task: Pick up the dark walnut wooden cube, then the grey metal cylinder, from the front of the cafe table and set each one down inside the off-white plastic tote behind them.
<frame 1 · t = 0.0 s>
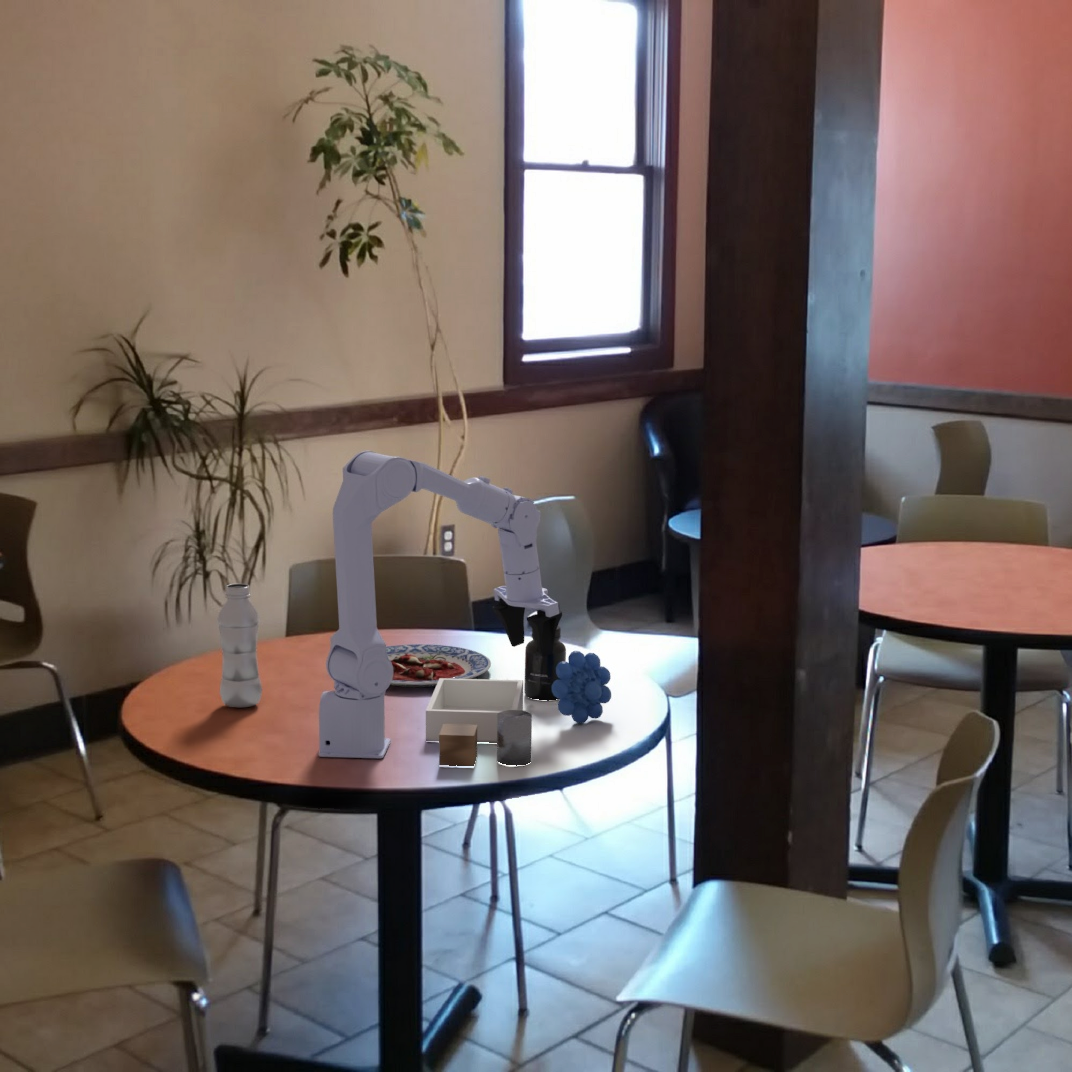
hand: (532, 649, 226), 11 cm above the table, tool pointing down, fingers open, 7 cm apart
ceramic plate: (418, 675, 250), on the table
grey metal cylinder: (514, 761, 205), on the table
tote: (476, 725, 221), on the table
plastic bottle: (241, 707, 230), on the table
supplement bottle: (544, 697, 237), on the table
walnut cube: (458, 762, 204), on the table
blue knobbed flower shape: (584, 726, 222), on the table
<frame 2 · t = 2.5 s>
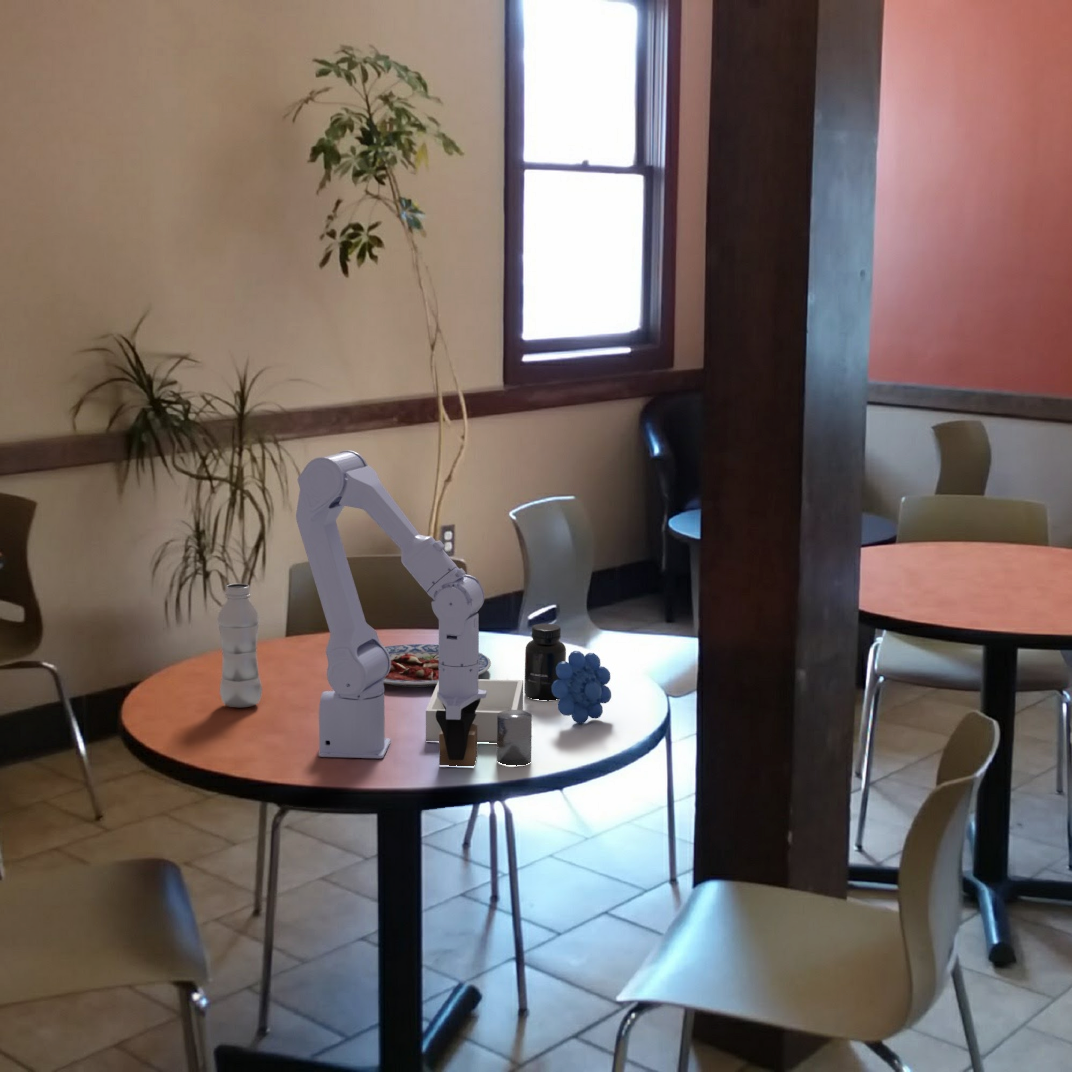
hand: (458, 752, 204), 1 cm above the table, tool pointing down, fingers closed on walnut cube, 5 cm apart
walnut cube: (458, 762, 204), on the table, touching gripper
everything else where it was.
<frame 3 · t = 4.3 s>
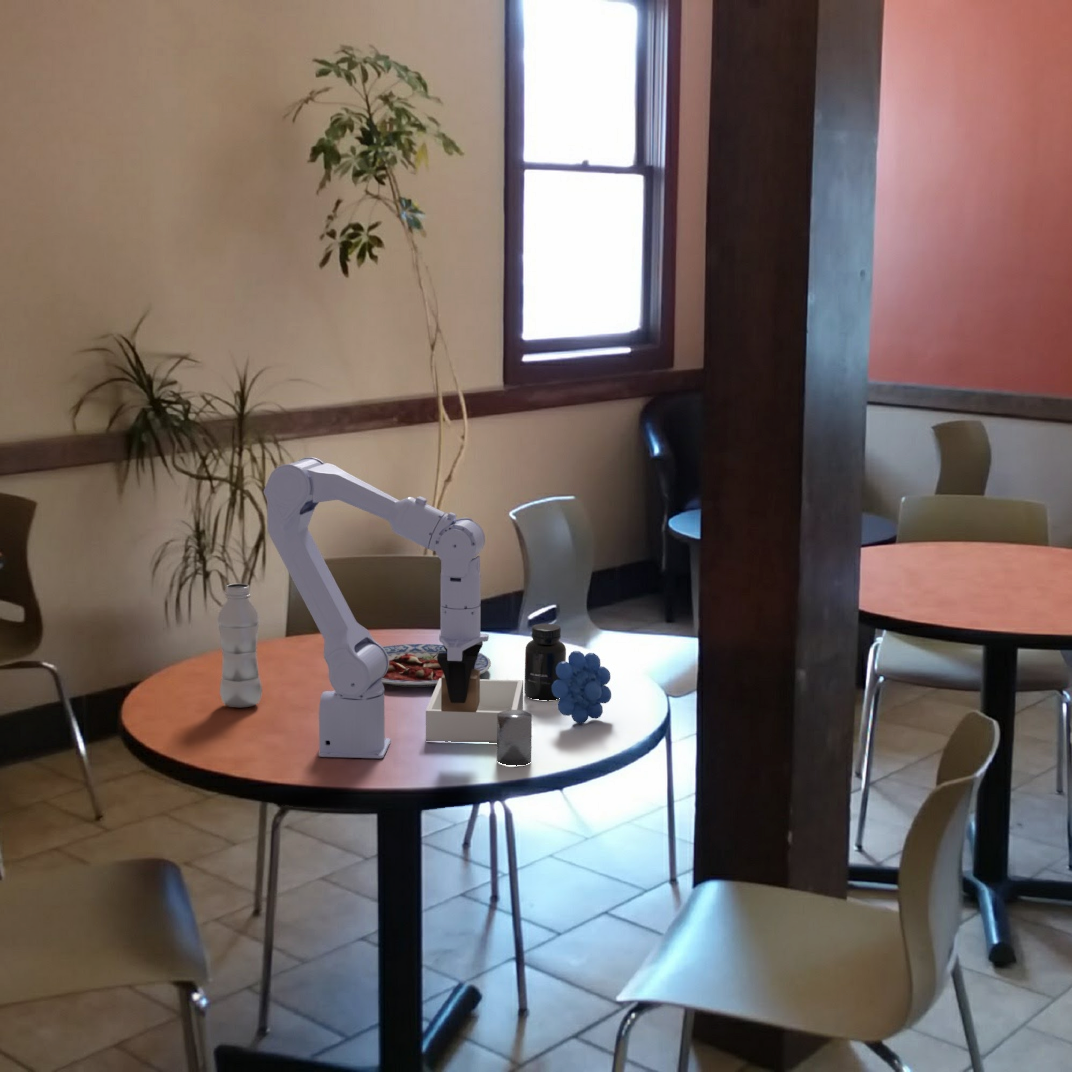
hand: (460, 696, 204), 9 cm above the table, tool pointing down, fingers closed on walnut cube, 5 cm apart
walnut cube: (460, 706, 204), point 8 cm above the table, touching gripper
everything else where it was.
when the fingers open (5 cm above the table, at t = 6.3 s): walnut cube drops 3 cm, resting on tote.
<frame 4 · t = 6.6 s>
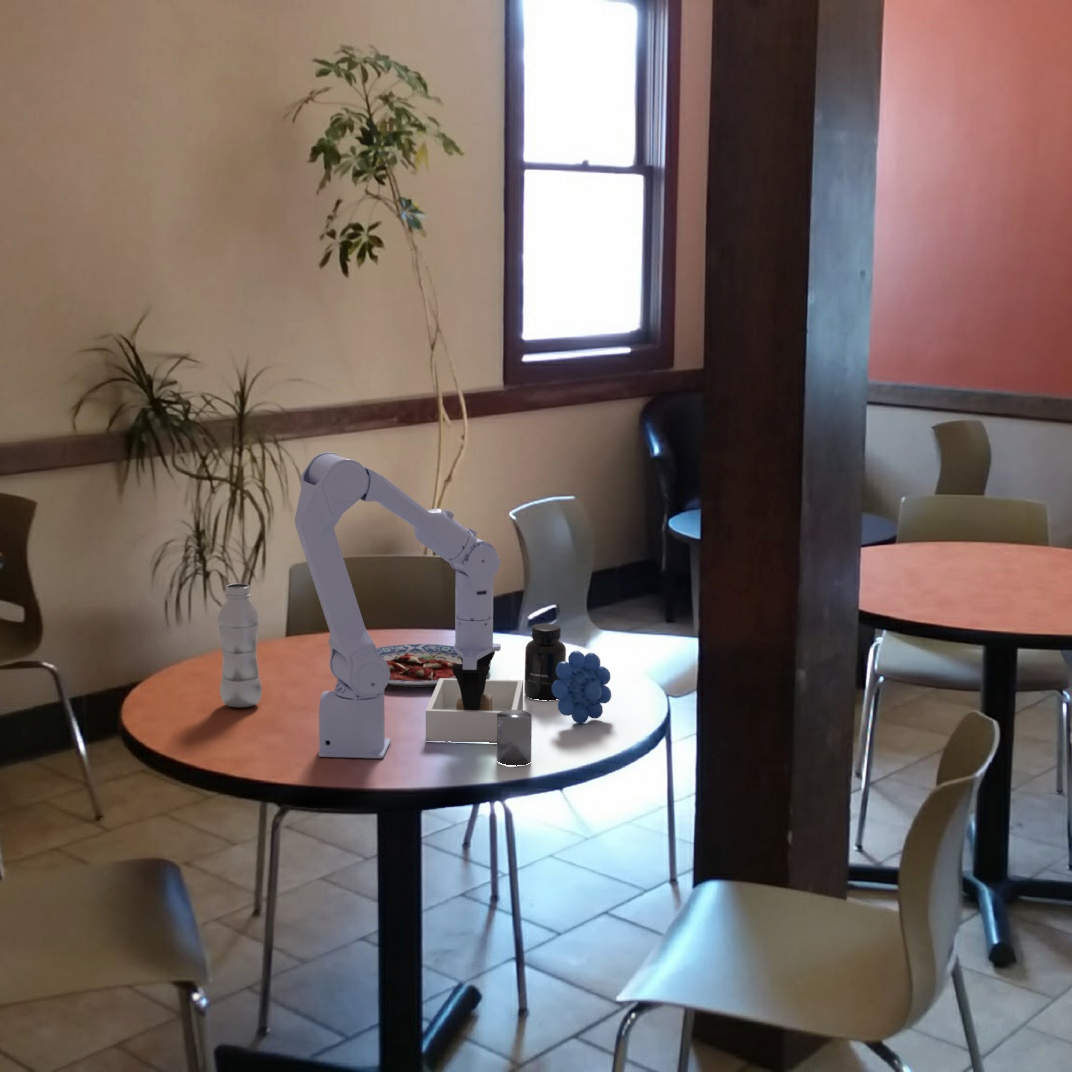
hand: (473, 703, 216), 5 cm above the table, tool pointing down, fingers open, 7 cm apart
walnut cube: (474, 730, 217), point 1 cm above the table, touching tote
everything else where it was.
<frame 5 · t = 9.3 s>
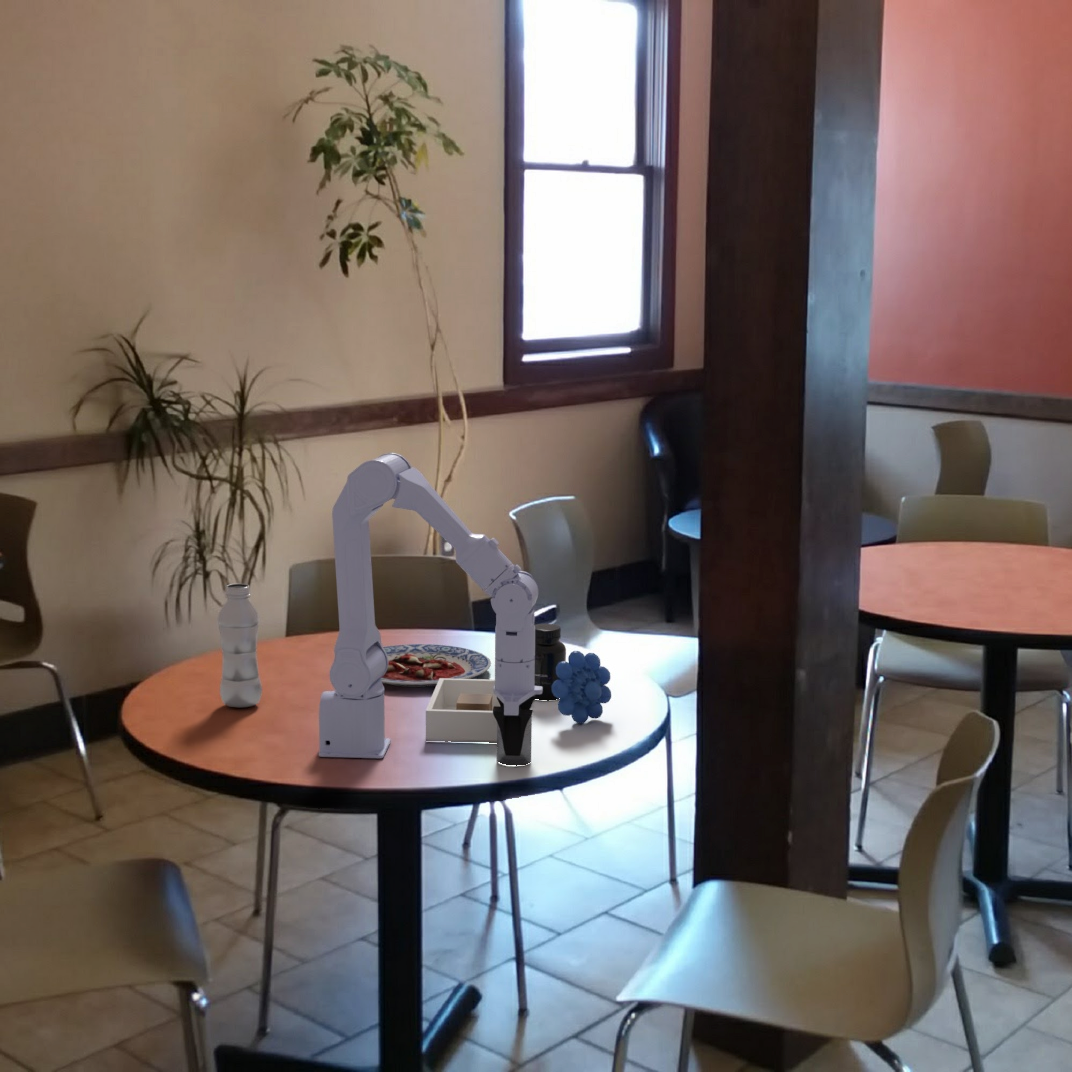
hand: (514, 748, 205), 2 cm above the table, tool pointing down, fingers closed on grey metal cylinder, 5 cm apart
grey metal cylinder: (513, 761, 205), on the table, touching gripper
everything else where it was.
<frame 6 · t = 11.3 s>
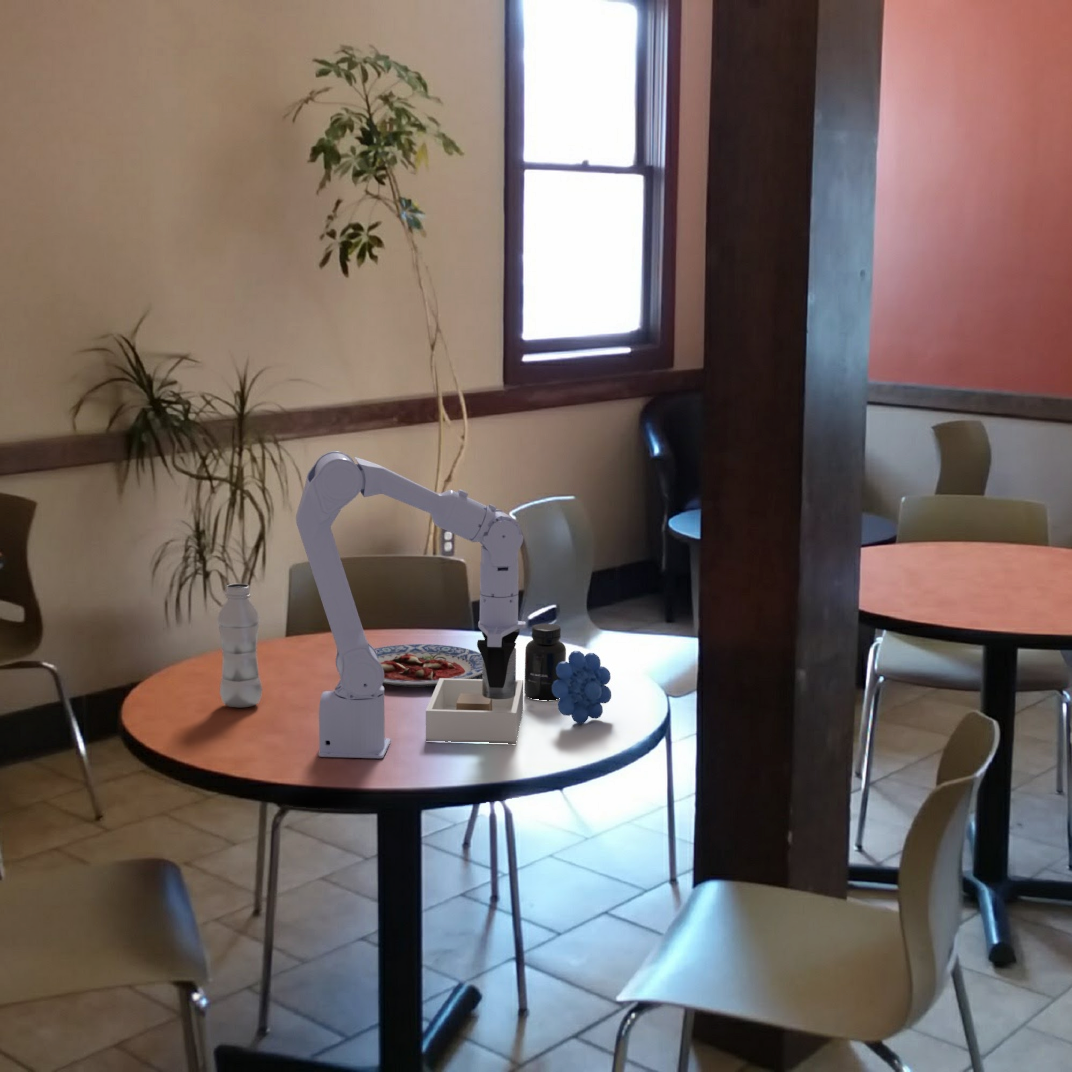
hand: (498, 681, 212), 9 cm above the table, tool pointing down, fingers closed on grey metal cylinder, 5 cm apart
grey metal cylinder: (498, 694, 212), point 7 cm above the table, touching gripper
everything else where it was.
when the fingers open (5 cm above the table, at t = 13.4 s): grey metal cylinder drops 2 cm, resting on tote.
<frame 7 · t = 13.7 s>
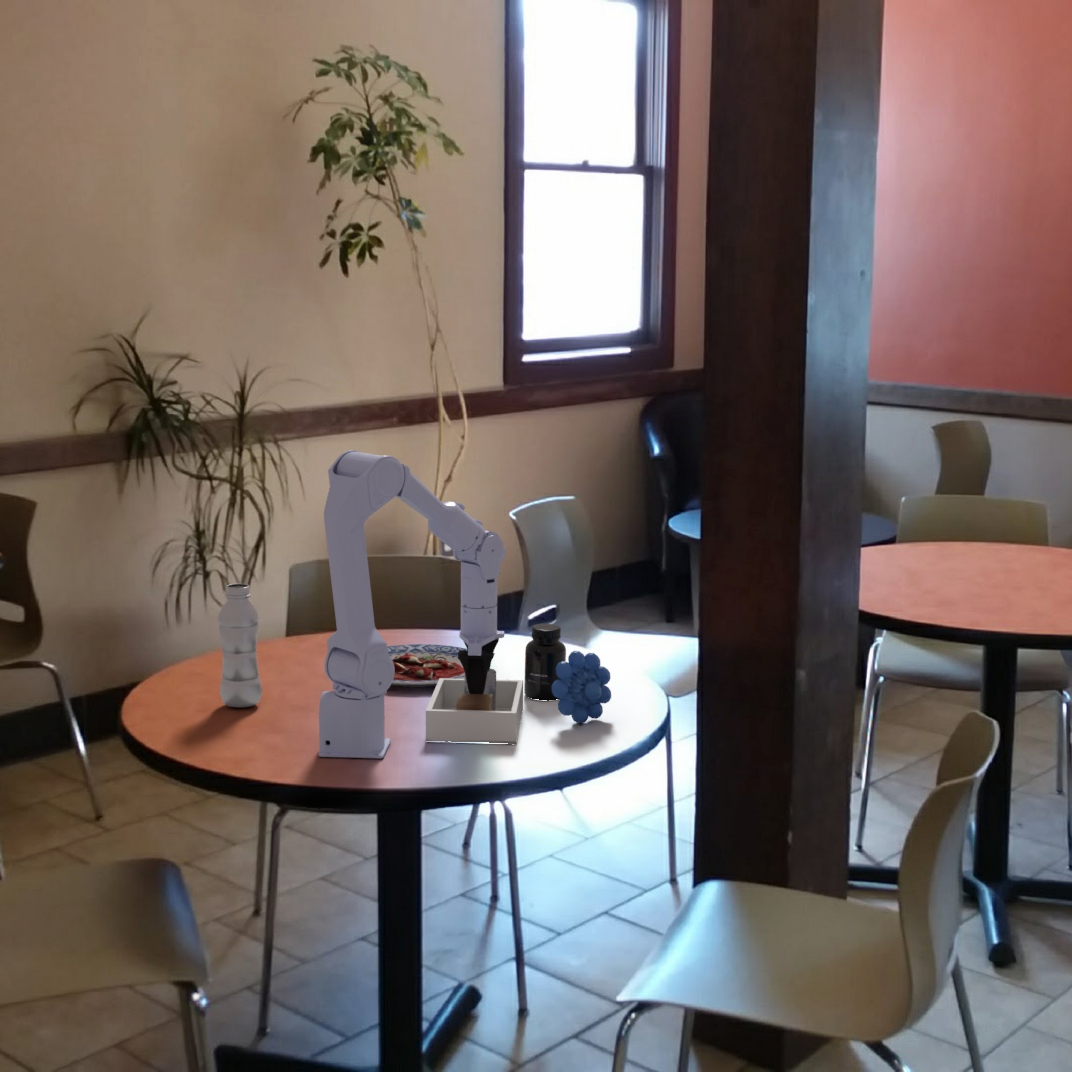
hand: (478, 688, 224), 5 cm above the table, tool pointing down, fingers open, 7 cm apart
grey metal cylinder: (479, 714, 225), point 1 cm above the table, touching tote
everything else where it was.
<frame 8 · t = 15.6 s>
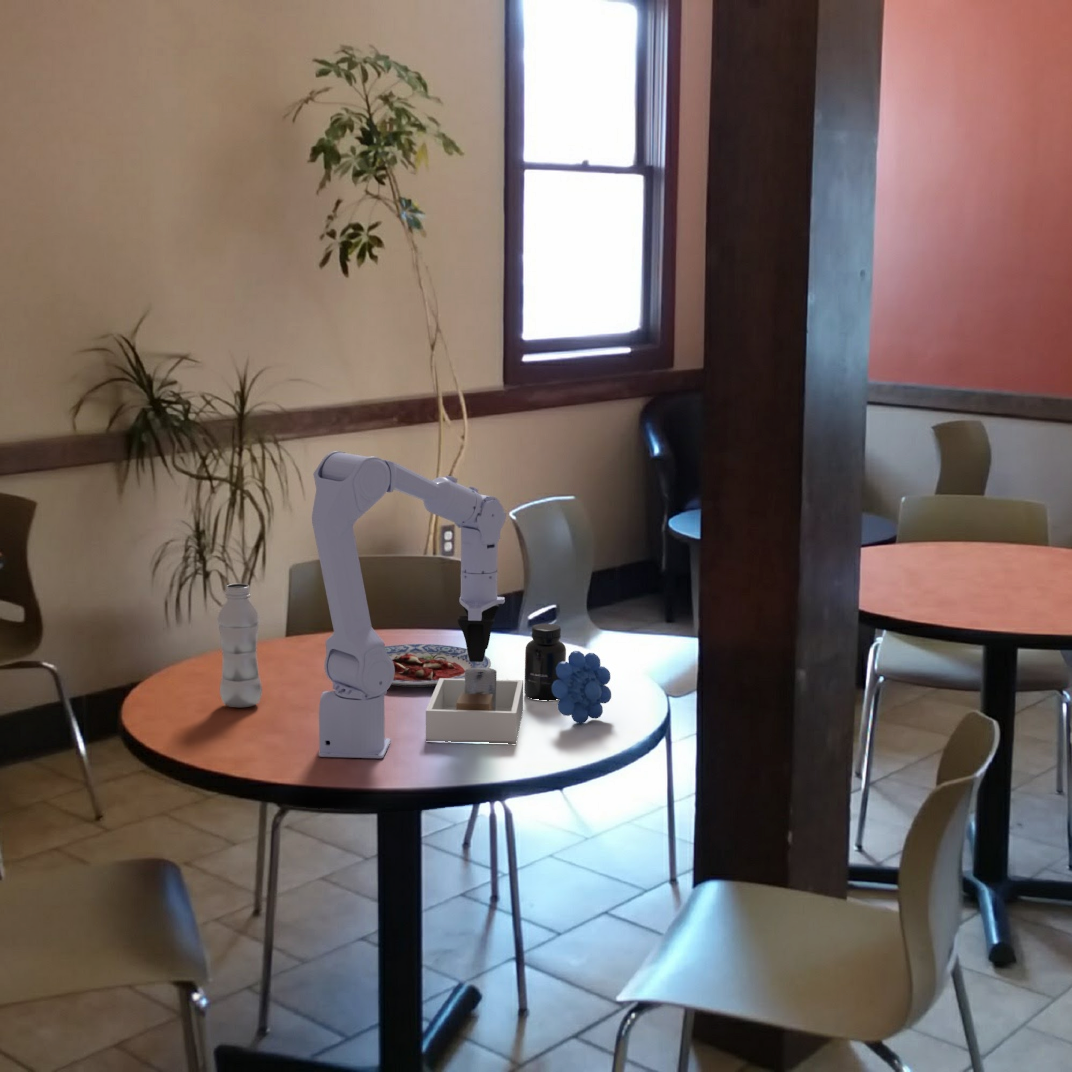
hand: (478, 654, 223), 10 cm above the table, tool pointing down, fingers open, 7 cm apart
nothing on the table moved.
at the end: walnut cube inside the target area on the tote (4.0 cm from its centre), point 0.6 cm above the tote's base; grey metal cylinder inside the target area on the tote (4.0 cm from its centre), point 0.7 cm above the tote's base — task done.
